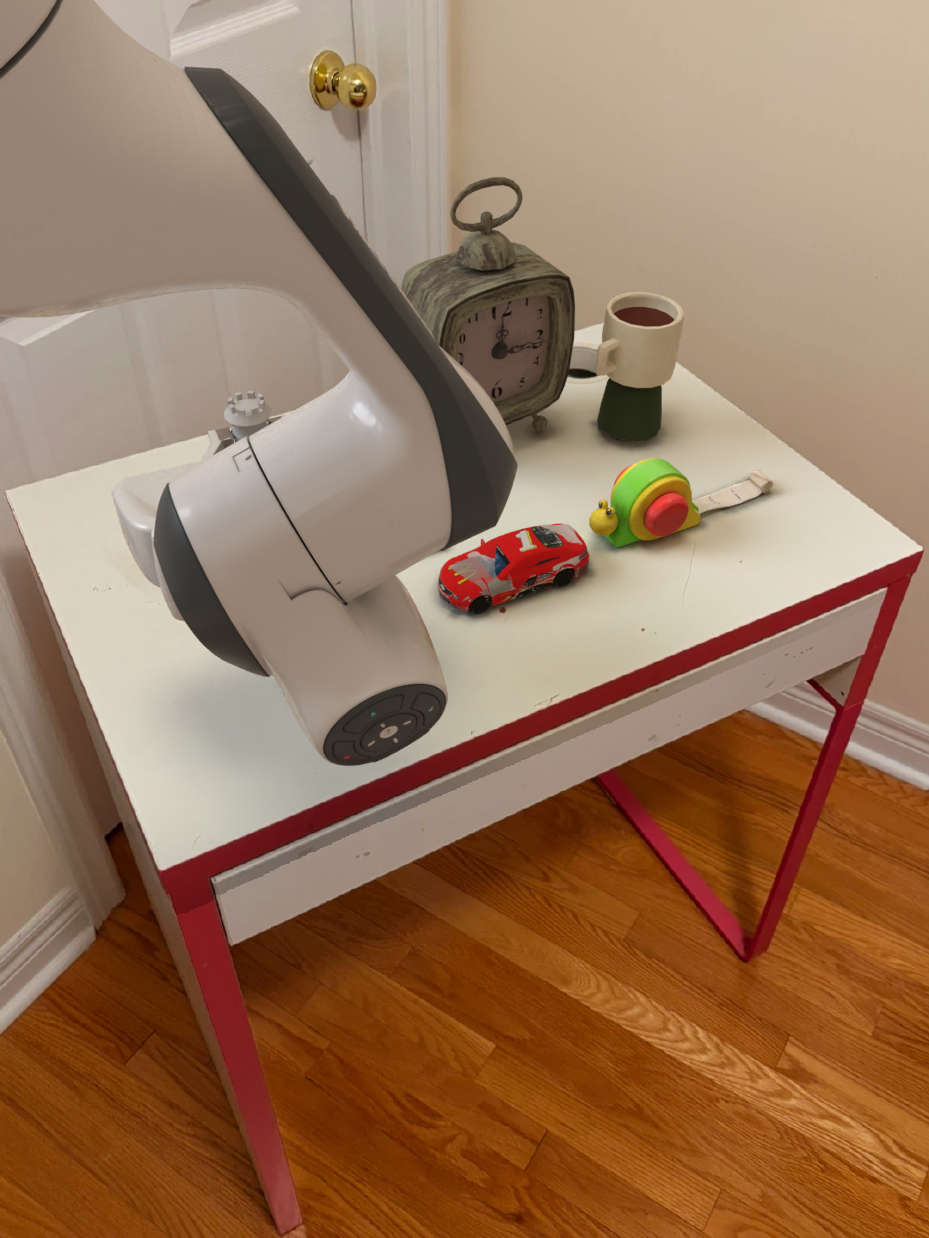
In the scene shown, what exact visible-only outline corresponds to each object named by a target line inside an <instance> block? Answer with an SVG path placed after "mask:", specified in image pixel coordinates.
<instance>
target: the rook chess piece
mask: <svg viewBox="0 0 929 1238" xmlns="http://www.w3.org/2000/svg"><path fill="white" fill-rule="evenodd" d="M246 391H247V392H246V393H247V395H246V396H243V393H242V392H241V391H238V392H235V393H233V397H231V396H229V397H228V399H227V400H226V402H227V407H226V408H225V410H224V412H223V417H224V420H225V421H226V422H227V423H228V424H230V425H231V426H232V428H231V429H230V433H232V436H233V438H234V443H235V442H237V441H239V440H241V439H242V438H244V437H246V436H248V437H249V436H251V435H252V434H254V433H256V432H258V431H259V430H261V429H263V428H265V427H266V426H268V424H267V420H268V419H270V418H271V415H272V413H273V411H272V407H271V406H270V405H269V404H268V403H266V399H265V396H264V395H263V394H262V393H261V392H260V393H258V394H256V392H255V390H246Z"/></svg>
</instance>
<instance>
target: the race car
mask: <svg viewBox="0 0 929 1238" xmlns="http://www.w3.org/2000/svg"><path fill="white" fill-rule="evenodd" d="M589 560H590V553H589V551H588V547H587V543H586V541H585V540H584V539H583V537H582V536H581V535H580V534H579V533H578V532H577V530H576V529H574V528H573V527H572V526H571V525H570V524H565V523H550V524H541V525H533V526H529V527H524V528H520V529H516V530H513V531H510V532H505V533H503V534H501V535H498V536H496V537H493V538H491V539H490V540H488V541H485V540H484V538H481V539H480V545H479V546H477V547H476V548H473V549H471V550H469V551H466V552H463V553H461V554H459V555H456V556H454V557H451V558H450V559H448V560H447V561H445V563H444V564H443V565H442V567H441V568H440V570H439V575H438V580H437V587H438V588H437V589H438V593H439V595H440V597H441V598H442V599H443V600H444V601H445V602H446V603H447V604H449V605H450V606H451V607H452V608H455V609H458V610H460V611H464V612H469V610H470V612H471V613H473V614H481V613H483V612H485V611H486V610H487V609H488V608H489V607H490V605H492V606H494V607H495V606H497V605H499V604H502V603H506V602H509V601H512V600H515V599H519V598H521V597H525V596H528V595H530V594H534V593H537V592H540V591H544V590H546V589H549V588H553V587H554V585H555V586H557V587H559V588H560V587H561V588H562V587H565V586H567V585H568V584H570V582H571V581H572V580H573V578H574V579H577V578H578V577H580V576H582V574H584V573H585V572H586V571H587V569H588V566H589Z"/></svg>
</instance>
